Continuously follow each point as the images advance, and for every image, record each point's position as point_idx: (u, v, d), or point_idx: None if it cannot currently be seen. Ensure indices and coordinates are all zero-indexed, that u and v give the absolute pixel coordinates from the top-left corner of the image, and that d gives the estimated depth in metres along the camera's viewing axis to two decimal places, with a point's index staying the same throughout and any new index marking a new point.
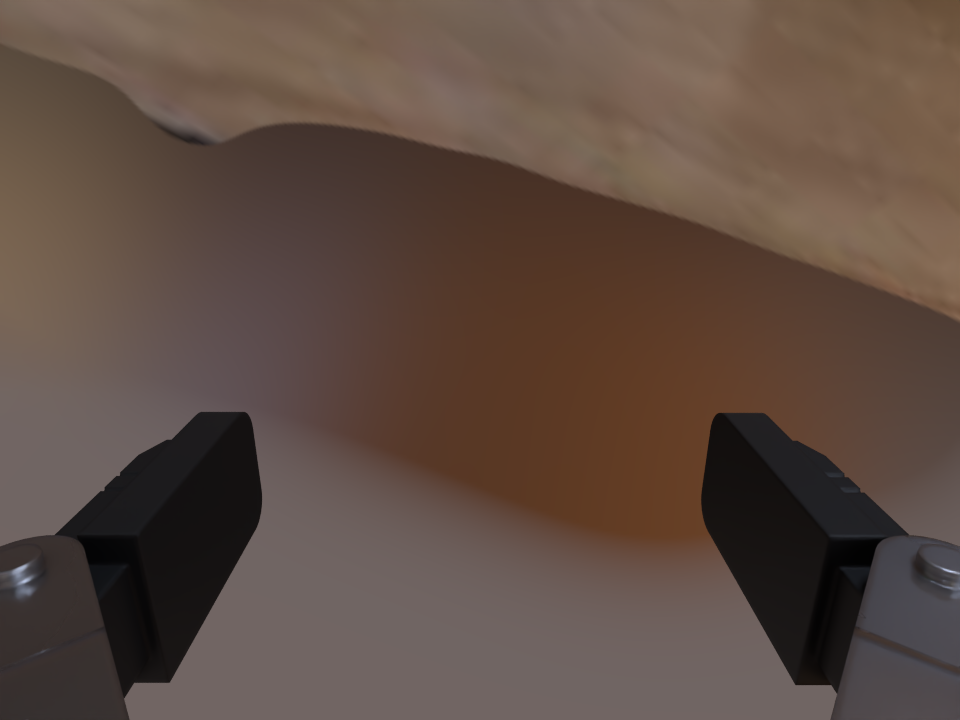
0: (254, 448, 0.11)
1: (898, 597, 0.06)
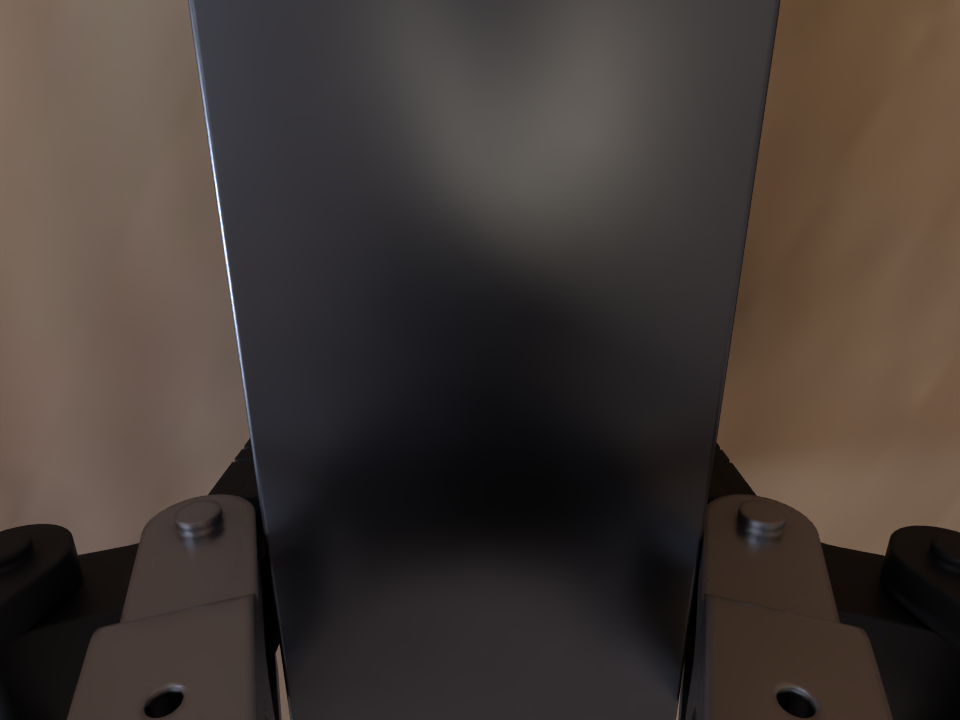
0: None
1: (730, 555, 0.07)
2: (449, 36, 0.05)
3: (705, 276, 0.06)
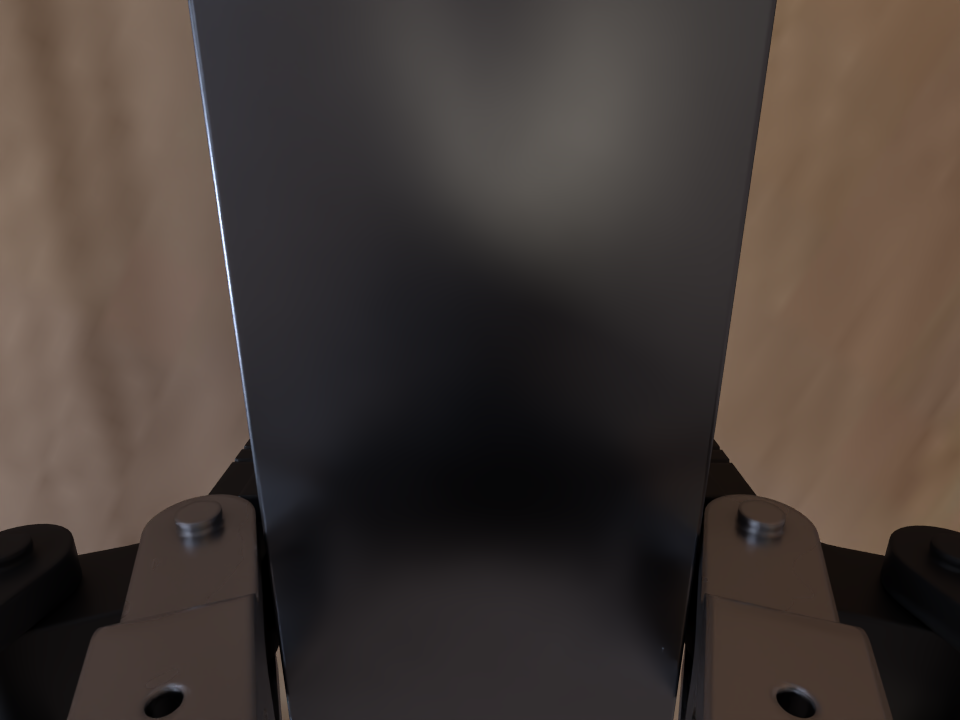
0: None
1: (730, 555, 0.07)
2: (447, 35, 0.05)
3: (702, 273, 0.06)
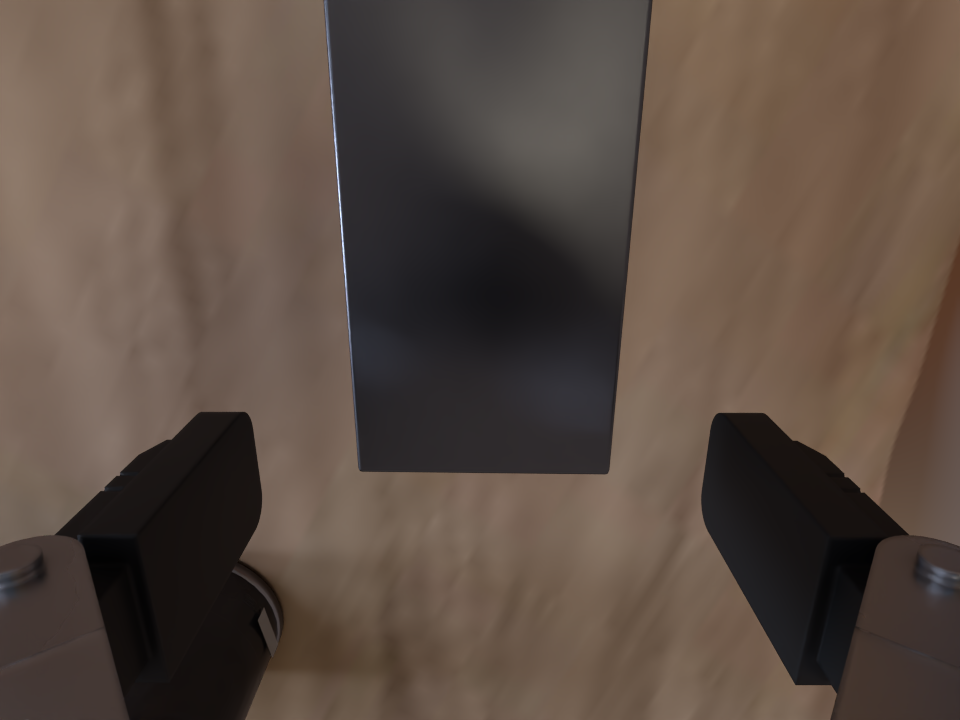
0: (254, 448, 0.11)
1: (898, 597, 0.06)
2: None
3: (627, 22, 0.09)
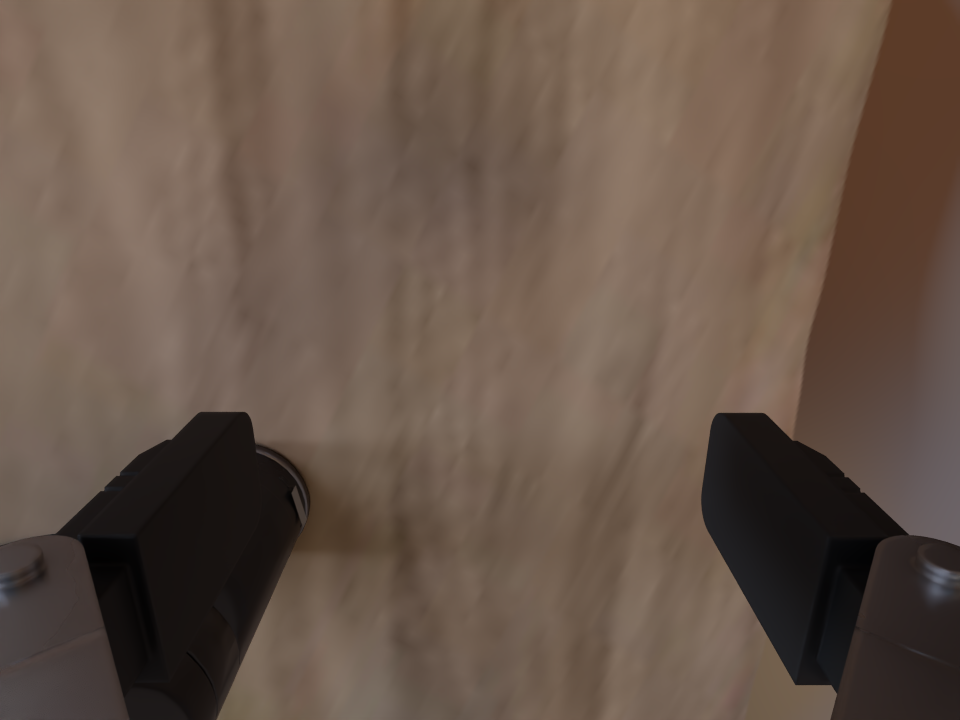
0: (254, 448, 0.11)
1: (898, 597, 0.06)
2: None
3: None
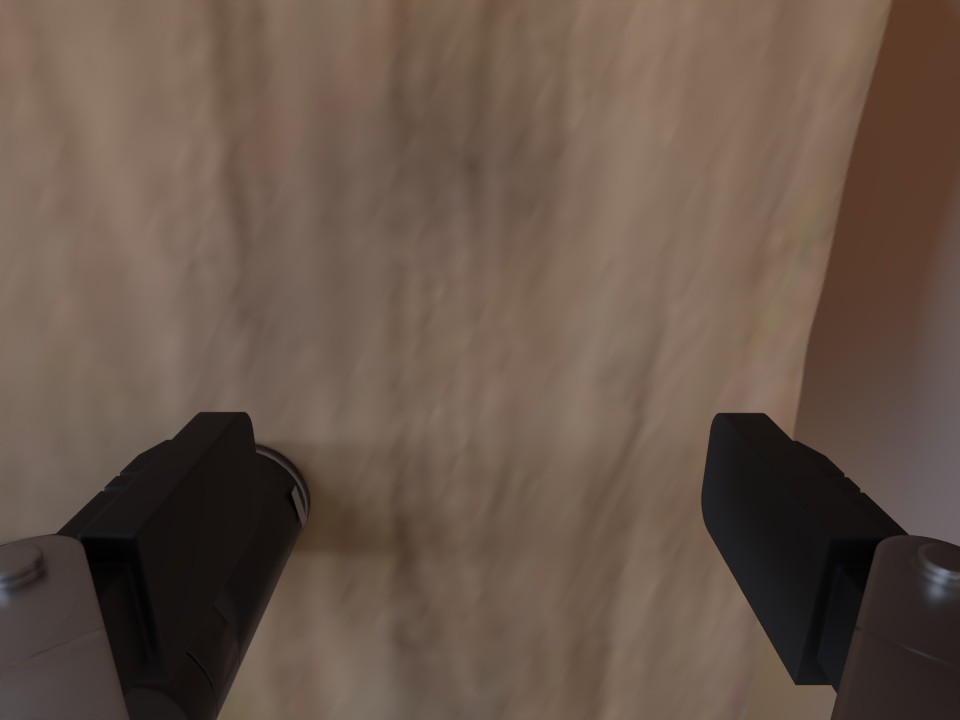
0: (254, 448, 0.11)
1: (898, 597, 0.06)
2: None
3: None
